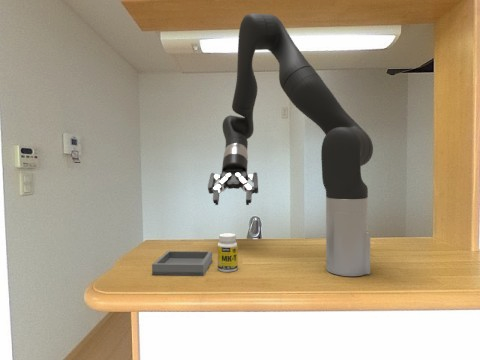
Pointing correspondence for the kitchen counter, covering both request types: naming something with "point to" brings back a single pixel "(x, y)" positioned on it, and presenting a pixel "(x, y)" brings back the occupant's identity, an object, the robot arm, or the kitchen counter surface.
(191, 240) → the kitchen counter surface
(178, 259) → the tray
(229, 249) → the supplement bottle
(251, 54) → the robot arm
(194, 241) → the kitchen counter surface
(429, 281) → the kitchen counter surface
